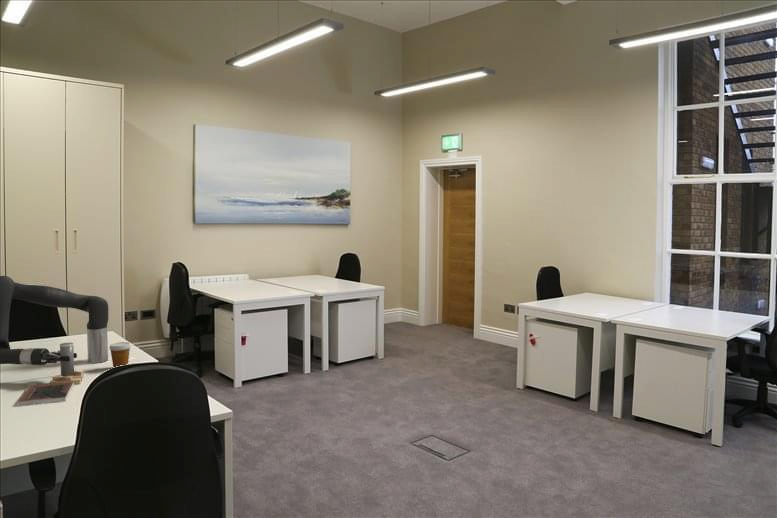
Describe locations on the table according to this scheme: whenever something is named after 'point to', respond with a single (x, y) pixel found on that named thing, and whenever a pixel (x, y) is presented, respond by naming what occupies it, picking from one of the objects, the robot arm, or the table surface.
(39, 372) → the table surface
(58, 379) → the stand
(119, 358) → the disposable coffee cup
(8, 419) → the table surface
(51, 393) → the picture frame
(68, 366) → the domed lid canister
